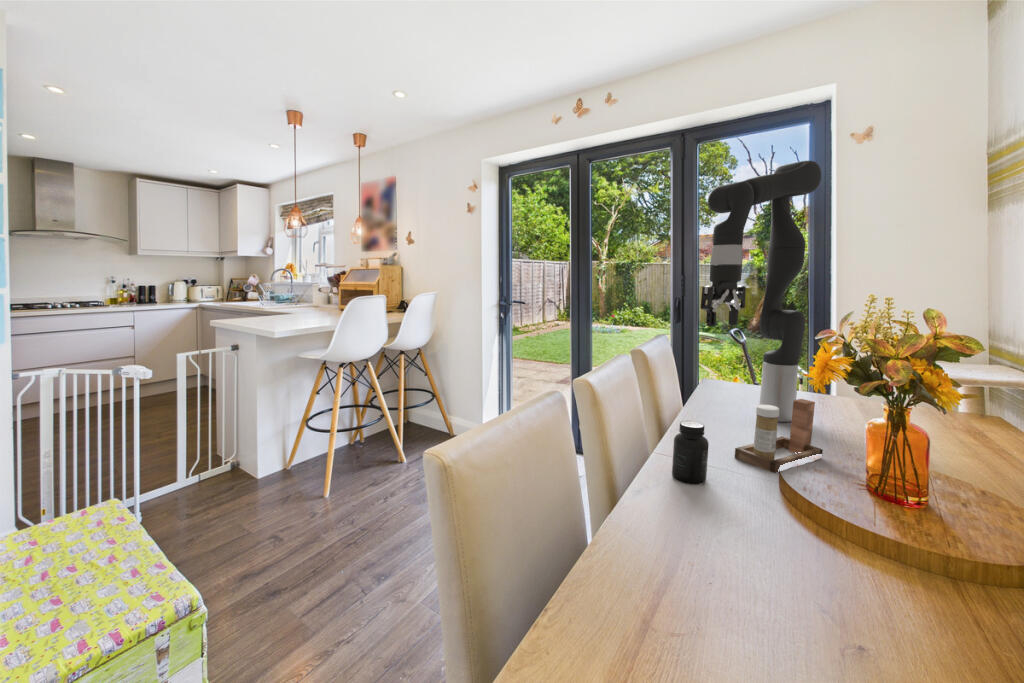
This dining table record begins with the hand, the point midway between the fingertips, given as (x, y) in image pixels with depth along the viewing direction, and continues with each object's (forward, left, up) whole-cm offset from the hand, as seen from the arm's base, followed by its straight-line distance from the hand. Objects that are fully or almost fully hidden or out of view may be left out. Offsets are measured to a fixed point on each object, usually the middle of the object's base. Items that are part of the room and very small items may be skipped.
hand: (721, 325), depth 118 cm
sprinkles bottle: (+6, +18, -30) cm, 36 cm away
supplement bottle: (+28, +16, -30) cm, 44 cm away
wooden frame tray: (0, +18, -30) cm, 35 cm away
